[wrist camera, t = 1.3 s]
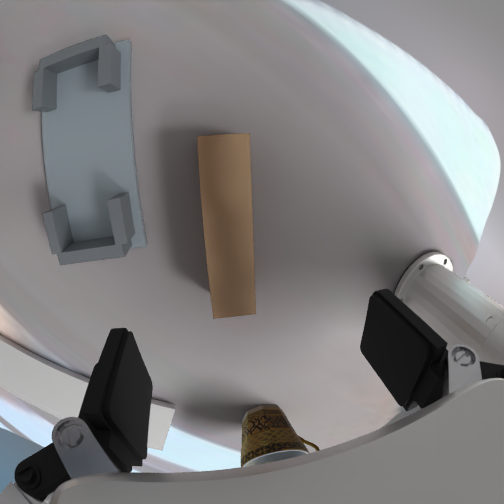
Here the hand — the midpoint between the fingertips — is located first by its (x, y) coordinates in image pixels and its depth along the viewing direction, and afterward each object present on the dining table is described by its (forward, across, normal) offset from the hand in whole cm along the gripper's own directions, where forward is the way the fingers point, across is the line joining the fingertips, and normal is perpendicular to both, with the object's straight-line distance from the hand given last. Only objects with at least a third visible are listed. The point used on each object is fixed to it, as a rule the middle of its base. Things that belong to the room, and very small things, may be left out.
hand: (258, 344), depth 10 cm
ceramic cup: (+18, -4, +33) cm, 38 cm away
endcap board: (+18, +13, -9) cm, 24 cm away
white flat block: (+19, +28, +23) cm, 41 cm away
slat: (+19, 0, 0) cm, 19 cm away
